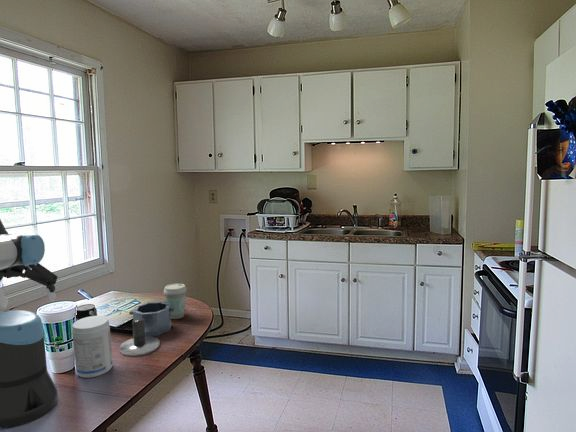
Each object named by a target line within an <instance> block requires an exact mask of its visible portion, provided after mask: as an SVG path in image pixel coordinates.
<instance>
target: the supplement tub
mask: <svg viewBox="0 0 576 432" xmlns="http://www.w3.org/2000/svg"><path fill="white" fill-rule="evenodd" d="M71 330H72V332H71V333H72V343H73V344H72V345H73V351H74V352H73V354H74V360H75V362H74V363H75V372H76V374H77V376H79V377H80V378H86V379H87V378H90V379H91V378H96V377H100V376H102V375H105V374H106V373H108V372H109V371H110V370H111V369H112V367H113V365H114V362H113V349H112V340H111V338H112V337H111V327H110V322H109V318H108V316H106V315H105V316H104V315H97V316H90V317H85V318H82V319H80V320H77V321H76V322H75V321H74V322H72V329H71Z"/></svg>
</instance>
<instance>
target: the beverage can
mask: <svg viewBox="0 0 576 432" xmlns="http://www.w3.org/2000/svg"><path fill="white" fill-rule="evenodd" d="M76 307H77V315H76V321H77V320H80V319H82V318H85V317H90V316H98V309H97V308H96V305H95V304H94V303H86V304H81V305H78V306H76Z"/></svg>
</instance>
